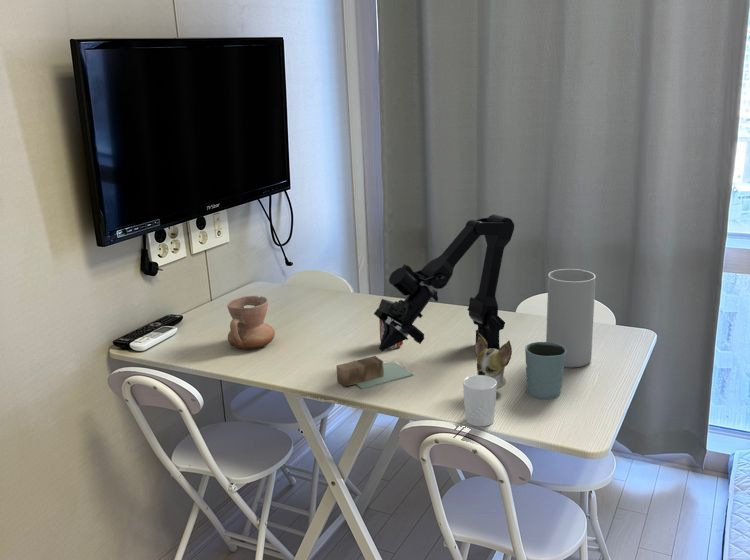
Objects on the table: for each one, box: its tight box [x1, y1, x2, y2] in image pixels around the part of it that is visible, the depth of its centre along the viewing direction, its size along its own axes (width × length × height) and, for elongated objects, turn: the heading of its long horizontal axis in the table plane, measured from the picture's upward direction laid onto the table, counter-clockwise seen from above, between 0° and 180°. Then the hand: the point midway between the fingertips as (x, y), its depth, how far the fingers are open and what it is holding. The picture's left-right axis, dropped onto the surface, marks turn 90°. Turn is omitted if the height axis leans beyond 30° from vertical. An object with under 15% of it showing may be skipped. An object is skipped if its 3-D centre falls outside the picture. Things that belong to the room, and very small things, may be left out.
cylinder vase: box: [545, 268, 596, 369], centre depth 205 cm, size 12×12×25 cm
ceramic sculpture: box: [474, 333, 513, 391], centre depth 189 cm, size 11×9×15 cm
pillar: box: [336, 355, 384, 388], centre depth 201 cm, size 4×4×12 cm
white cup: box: [462, 374, 498, 427], centre depth 175 cm, size 8×8×10 cm
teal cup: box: [524, 341, 566, 400], centre depth 188 cm, size 10×10×12 cm
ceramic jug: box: [226, 295, 276, 350], centre depth 227 cm, size 18×14×14 cm
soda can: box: [378, 318, 404, 350], centre depth 222 cm, size 7×7×12 cm
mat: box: [355, 360, 414, 390], centre depth 204 cm, size 16×11×1 cm
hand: (380, 350), depth 202 cm, fingers closed
